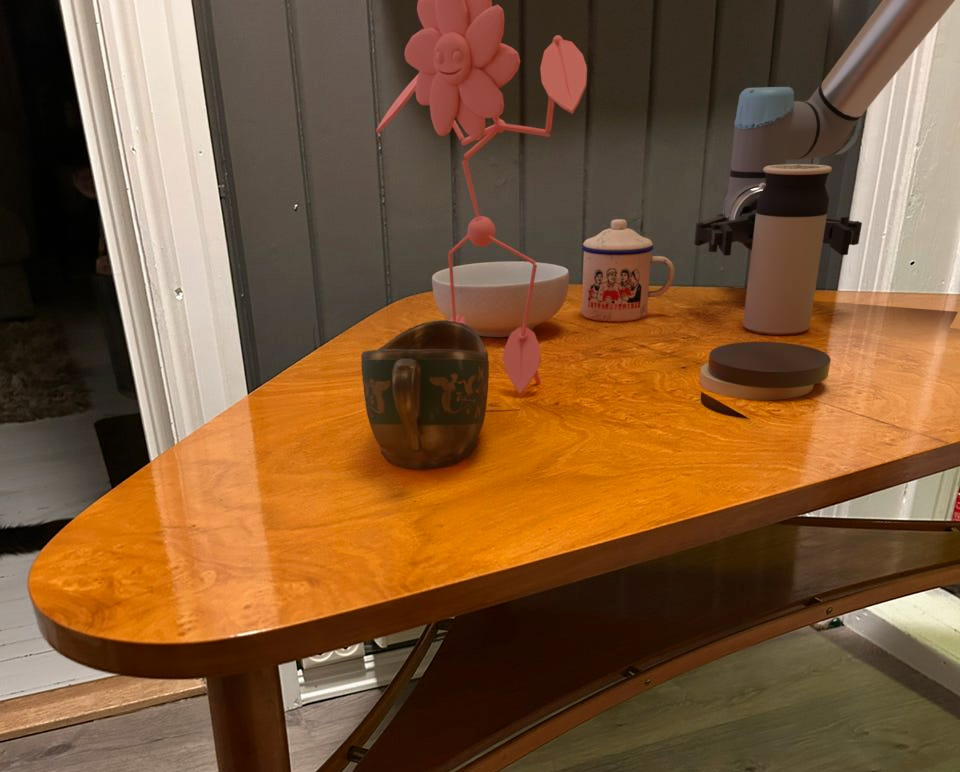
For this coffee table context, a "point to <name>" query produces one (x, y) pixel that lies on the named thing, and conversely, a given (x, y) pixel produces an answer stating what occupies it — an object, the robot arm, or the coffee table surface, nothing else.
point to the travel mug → (786, 249)
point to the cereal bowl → (501, 295)
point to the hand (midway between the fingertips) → (787, 243)
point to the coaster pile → (761, 372)
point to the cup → (427, 394)
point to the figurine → (483, 114)
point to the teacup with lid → (619, 274)
